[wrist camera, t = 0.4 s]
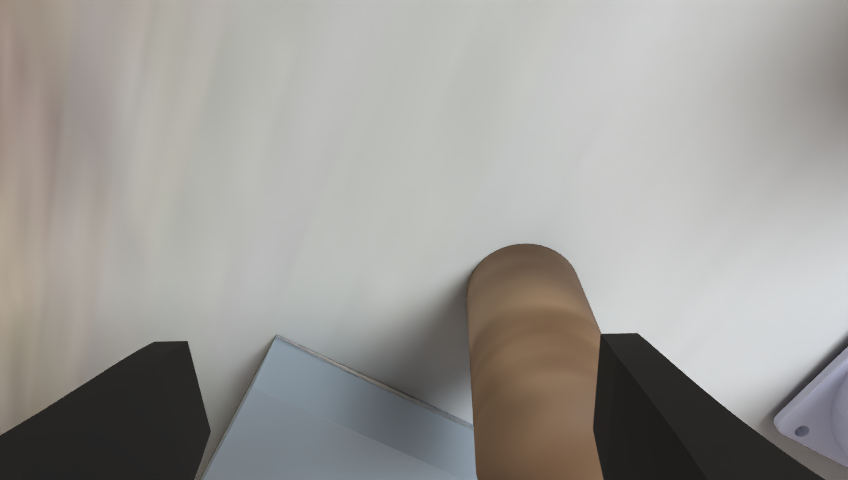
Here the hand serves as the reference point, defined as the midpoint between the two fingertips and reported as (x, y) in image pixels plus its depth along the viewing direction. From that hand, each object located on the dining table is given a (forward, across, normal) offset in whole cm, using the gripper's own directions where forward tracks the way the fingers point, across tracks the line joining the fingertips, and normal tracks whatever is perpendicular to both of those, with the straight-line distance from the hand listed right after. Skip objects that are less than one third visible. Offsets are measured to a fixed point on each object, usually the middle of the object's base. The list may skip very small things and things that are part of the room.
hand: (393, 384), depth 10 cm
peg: (+10, -3, +4) cm, 12 cm away
